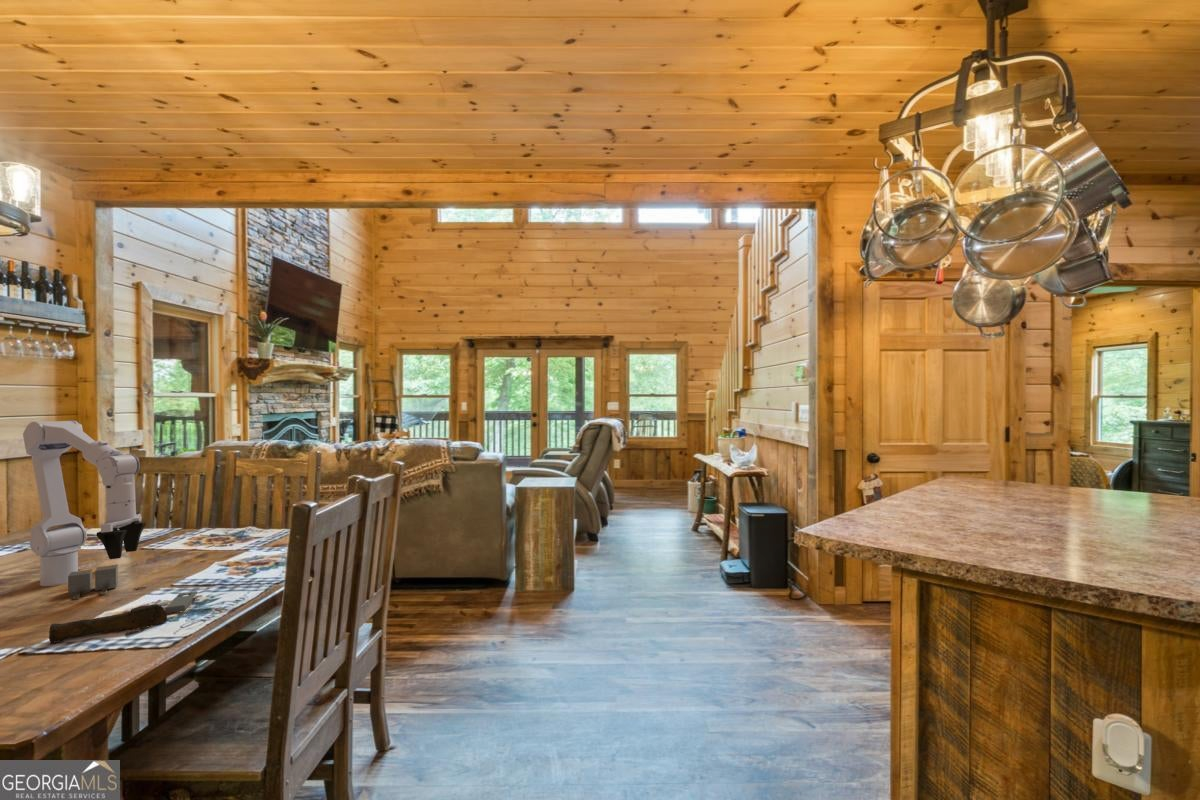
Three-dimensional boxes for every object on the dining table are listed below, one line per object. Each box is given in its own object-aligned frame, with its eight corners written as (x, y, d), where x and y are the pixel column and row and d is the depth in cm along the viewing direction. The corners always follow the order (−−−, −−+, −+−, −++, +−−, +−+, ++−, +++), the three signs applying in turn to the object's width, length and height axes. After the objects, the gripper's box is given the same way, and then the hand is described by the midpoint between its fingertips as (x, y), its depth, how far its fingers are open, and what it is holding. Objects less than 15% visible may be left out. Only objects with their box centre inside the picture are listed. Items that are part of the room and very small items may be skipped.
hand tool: (46, 647, 112) (46, 624, 112) (53, 639, 116) (53, 617, 116) (164, 628, 122) (164, 607, 122) (167, 621, 125) (167, 601, 125)
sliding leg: (97, 586, 143) (97, 567, 143) (117, 583, 146) (117, 564, 146) (92, 596, 137) (92, 575, 137) (113, 592, 139) (113, 572, 139)
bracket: (164, 616, 129) (164, 607, 129) (179, 600, 139) (179, 592, 139) (185, 613, 130) (185, 605, 130) (198, 598, 140) (197, 590, 140)
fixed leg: (71, 591, 141) (71, 572, 141) (92, 588, 143) (92, 569, 143) (64, 601, 134) (64, 581, 134) (86, 598, 136) (86, 578, 136)
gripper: (124, 504, 136) (126, 559, 136) (153, 496, 150) (155, 546, 150) (89, 507, 134) (91, 563, 134) (122, 498, 148) (124, 549, 148)
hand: (123, 554), depth 142 cm, fingers open, 7 cm apart
